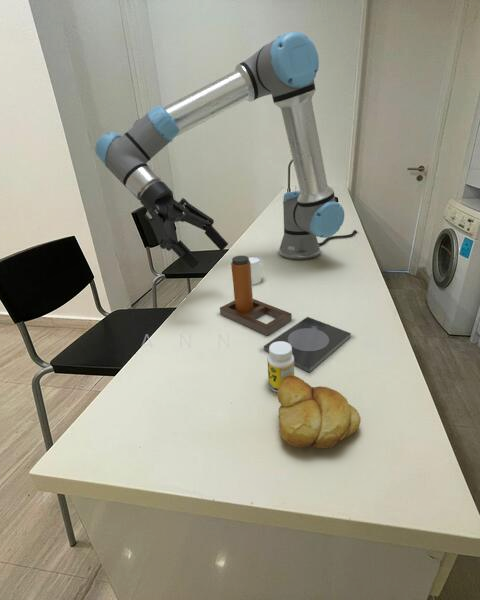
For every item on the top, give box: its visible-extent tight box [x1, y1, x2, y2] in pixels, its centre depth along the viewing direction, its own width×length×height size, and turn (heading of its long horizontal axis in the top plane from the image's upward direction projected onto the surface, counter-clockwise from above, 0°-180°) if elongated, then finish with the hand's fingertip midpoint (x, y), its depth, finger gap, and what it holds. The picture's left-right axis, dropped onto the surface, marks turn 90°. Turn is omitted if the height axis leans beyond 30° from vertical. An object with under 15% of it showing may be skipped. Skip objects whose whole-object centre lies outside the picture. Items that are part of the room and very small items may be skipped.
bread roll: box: [276, 375, 362, 449], centre depth 50 cm, size 13×10×8 cm
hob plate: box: [263, 316, 352, 373], centre depth 73 cm, size 16×12×1 cm
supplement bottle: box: [267, 341, 295, 393], centre depth 59 cm, size 5×5×8 cm
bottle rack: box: [219, 298, 293, 337], centre depth 83 cm, size 9×16×2 cm, turn 49°
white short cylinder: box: [247, 256, 263, 286], centre depth 103 cm, size 7×7×7 cm
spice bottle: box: [230, 255, 254, 314], centre depth 83 cm, size 5×5×15 cm
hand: (211, 255), depth 82 cm, fingers open, 13 cm apart
